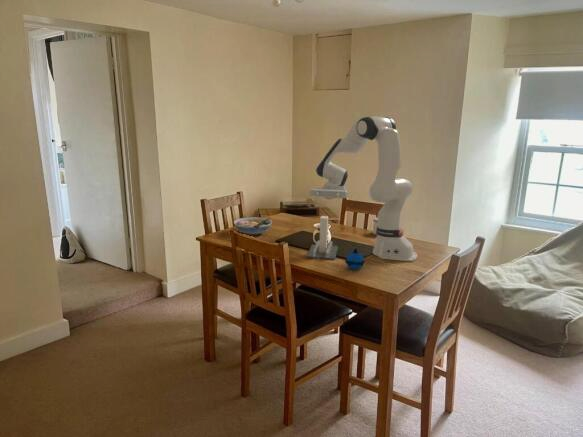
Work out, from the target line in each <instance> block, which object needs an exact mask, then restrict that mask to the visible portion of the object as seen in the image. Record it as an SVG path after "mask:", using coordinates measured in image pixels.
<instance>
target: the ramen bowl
mask: <svg viewBox="0 0 583 437" xmlns="http://www.w3.org/2000/svg"><path fill="white" fill-rule="evenodd" d="M272 223H273V220H271V217H268V218H264V217H257V216H255V217H253V216H251V217H242V218H237V219H235V220H234V221H233V224H234V226H235V227H236V229H237V230H238V231H239V232H241V233H243V234H245V235H248V236H258V235H260V234H262V233H265V232H266V231H268V229H269V228H270V227H271V225H272Z"/></svg>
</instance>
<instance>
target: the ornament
mask: <svg viewBox="0 0 583 437" xmlns="http://www.w3.org/2000/svg"><path fill="white" fill-rule="evenodd" d="M364 263H365V258H364V256H363V255H362V254H361V252H358V249H357V248H354V250H353V251H352V252H350V253H349V254H347V256H346V257H345V264H346V266H347V267H348V268H349V269H351V270H353V271H356V270H359V269H361V268H362V267H363V266H364Z"/></svg>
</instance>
